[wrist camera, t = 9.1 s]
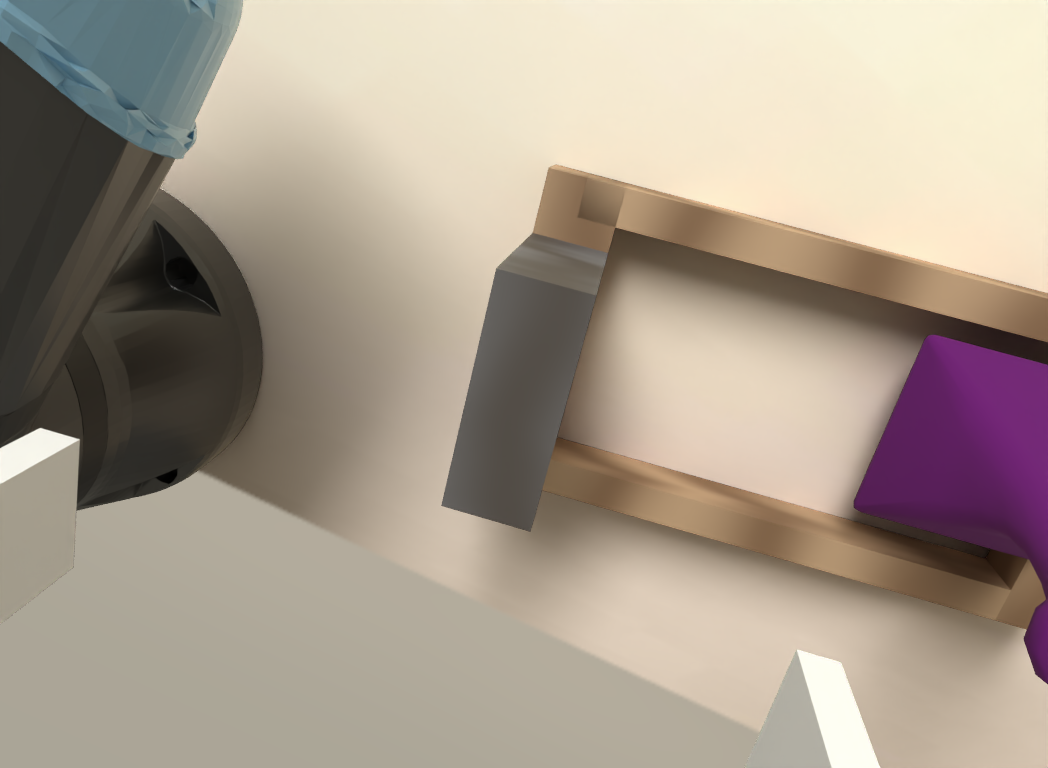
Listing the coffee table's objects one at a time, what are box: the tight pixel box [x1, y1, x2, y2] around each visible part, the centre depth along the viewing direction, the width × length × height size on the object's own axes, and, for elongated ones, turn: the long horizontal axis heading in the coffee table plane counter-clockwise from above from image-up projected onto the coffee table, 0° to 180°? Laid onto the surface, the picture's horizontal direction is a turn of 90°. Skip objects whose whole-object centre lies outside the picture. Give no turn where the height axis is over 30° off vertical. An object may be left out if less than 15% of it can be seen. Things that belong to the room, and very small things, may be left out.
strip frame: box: [441, 165, 1048, 629], centre depth 28 cm, size 24×13×10 cm, turn 76°
